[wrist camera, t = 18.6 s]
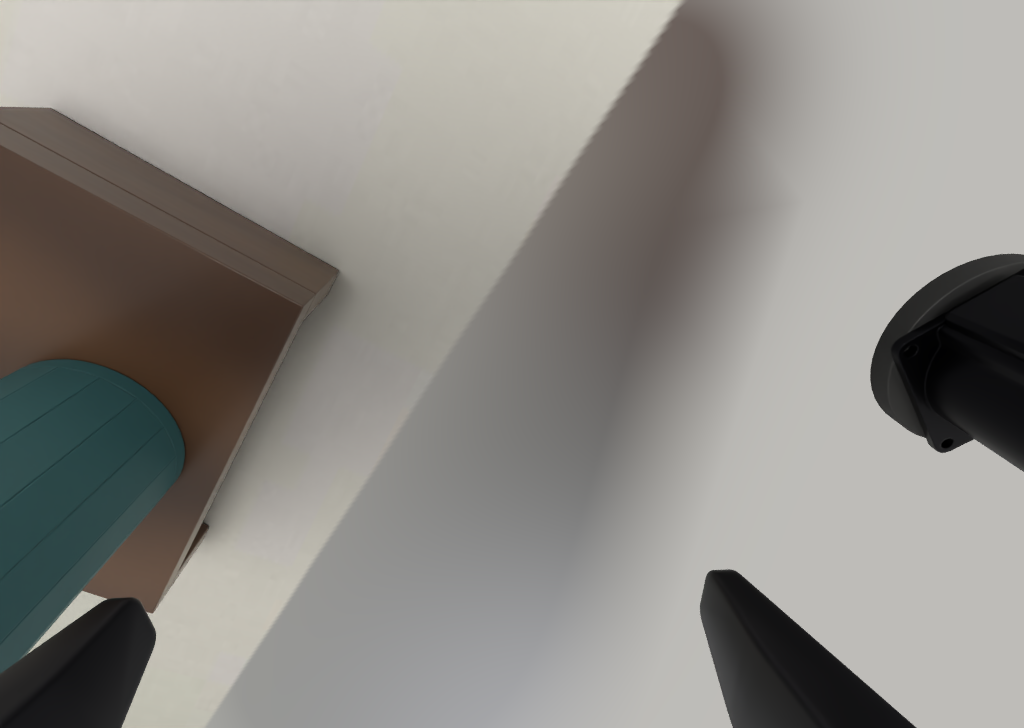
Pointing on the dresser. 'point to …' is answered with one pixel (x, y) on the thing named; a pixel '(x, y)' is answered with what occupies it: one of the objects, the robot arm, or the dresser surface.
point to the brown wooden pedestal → (145, 309)
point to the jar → (72, 485)
